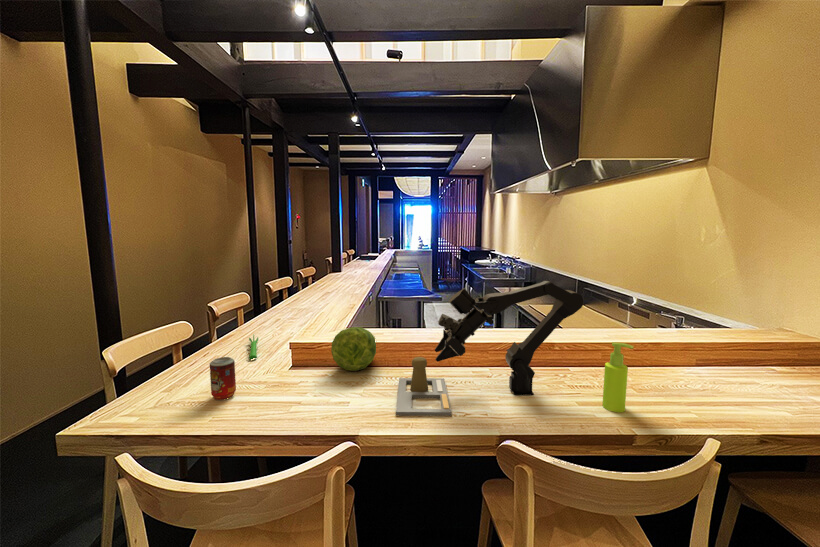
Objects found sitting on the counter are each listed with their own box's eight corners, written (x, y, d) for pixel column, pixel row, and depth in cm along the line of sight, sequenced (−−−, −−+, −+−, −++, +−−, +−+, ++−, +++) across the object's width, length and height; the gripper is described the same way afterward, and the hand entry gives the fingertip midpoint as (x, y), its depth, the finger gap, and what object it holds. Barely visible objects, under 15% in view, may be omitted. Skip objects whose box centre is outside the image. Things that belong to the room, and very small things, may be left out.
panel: (444, 381, 124) (444, 377, 124) (451, 416, 100) (451, 411, 100) (399, 381, 124) (399, 377, 124) (395, 415, 101) (395, 410, 100)
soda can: (206, 400, 109) (204, 363, 108) (220, 391, 116) (219, 355, 115) (227, 402, 109) (225, 364, 107) (240, 392, 116) (239, 356, 114)
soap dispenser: (629, 415, 101) (633, 348, 99) (601, 409, 105) (605, 344, 102) (629, 406, 106) (633, 342, 104) (603, 401, 110) (606, 339, 107)
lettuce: (367, 370, 151) (392, 342, 150) (350, 383, 128) (380, 350, 127) (340, 343, 154) (365, 316, 153) (319, 351, 131) (348, 319, 130)
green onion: (258, 361, 146) (258, 338, 174) (257, 354, 146) (258, 332, 173) (245, 363, 144) (248, 340, 172) (245, 356, 144) (247, 333, 171)
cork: (407, 391, 116) (407, 359, 115) (414, 384, 122) (414, 353, 121) (424, 394, 114) (424, 362, 113) (430, 387, 120) (430, 356, 118)
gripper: (450, 301, 124) (419, 331, 125) (455, 312, 105) (418, 347, 107) (472, 323, 124) (441, 352, 126) (480, 338, 106) (443, 373, 107)
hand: (435, 355), depth 116 cm, fingers open, 9 cm apart
